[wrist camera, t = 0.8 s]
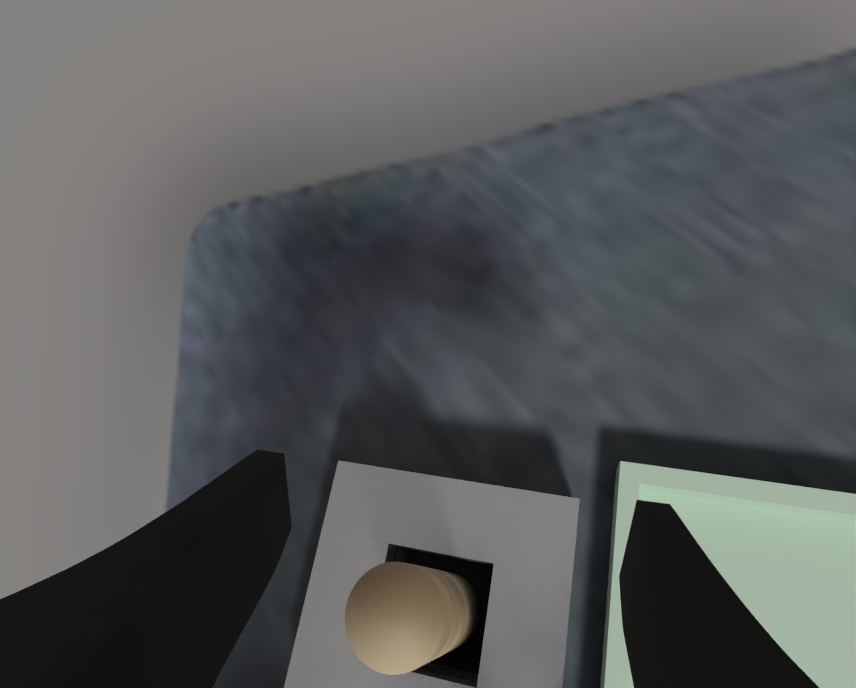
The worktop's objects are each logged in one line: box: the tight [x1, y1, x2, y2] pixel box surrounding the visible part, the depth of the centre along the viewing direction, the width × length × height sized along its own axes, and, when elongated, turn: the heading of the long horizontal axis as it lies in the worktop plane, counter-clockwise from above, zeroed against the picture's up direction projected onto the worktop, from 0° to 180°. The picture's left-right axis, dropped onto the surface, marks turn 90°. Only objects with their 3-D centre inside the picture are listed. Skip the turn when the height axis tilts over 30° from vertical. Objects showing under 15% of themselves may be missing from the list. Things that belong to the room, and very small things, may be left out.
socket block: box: [284, 460, 580, 688], centre depth 24 cm, size 10×10×4 cm
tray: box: [600, 461, 856, 688], centre depth 21 cm, size 14×13×2 cm
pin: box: [345, 562, 481, 675], centre depth 21 cm, size 3×3×9 cm
